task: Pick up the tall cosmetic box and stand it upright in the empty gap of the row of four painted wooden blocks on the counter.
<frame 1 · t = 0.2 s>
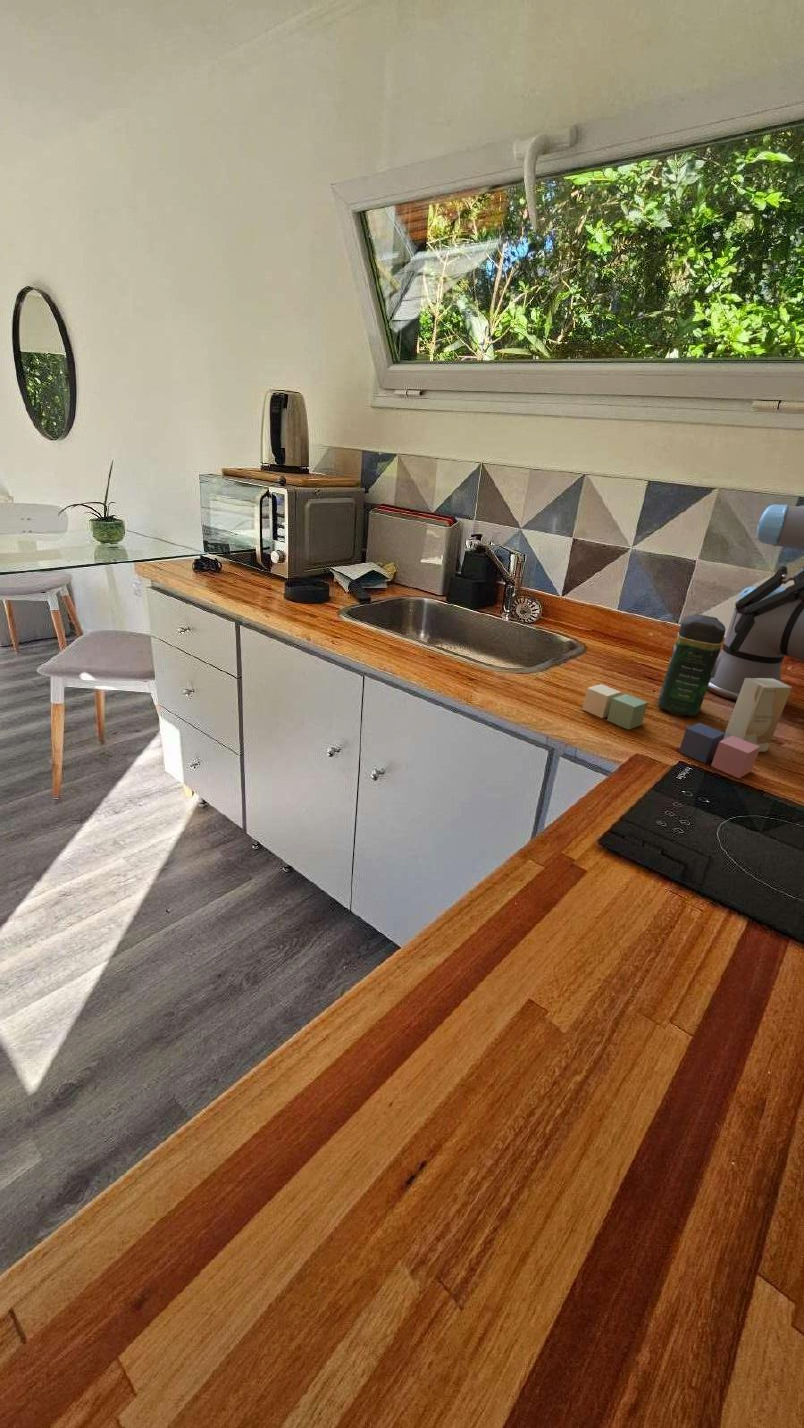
hand: (774, 663, 98), 15 cm above the worktop, tool tilted 35°, fingers open, 13 cm apart
block sage: (624, 722, 109), on the worktop
block slate: (698, 754, 100), on the worktop
cosmetic box: (744, 747, 104), on the worktop
block cream: (598, 711, 113), on the worktop
coffee jar: (677, 709, 118), on the worktop
block rose: (730, 768, 96), on the worktop
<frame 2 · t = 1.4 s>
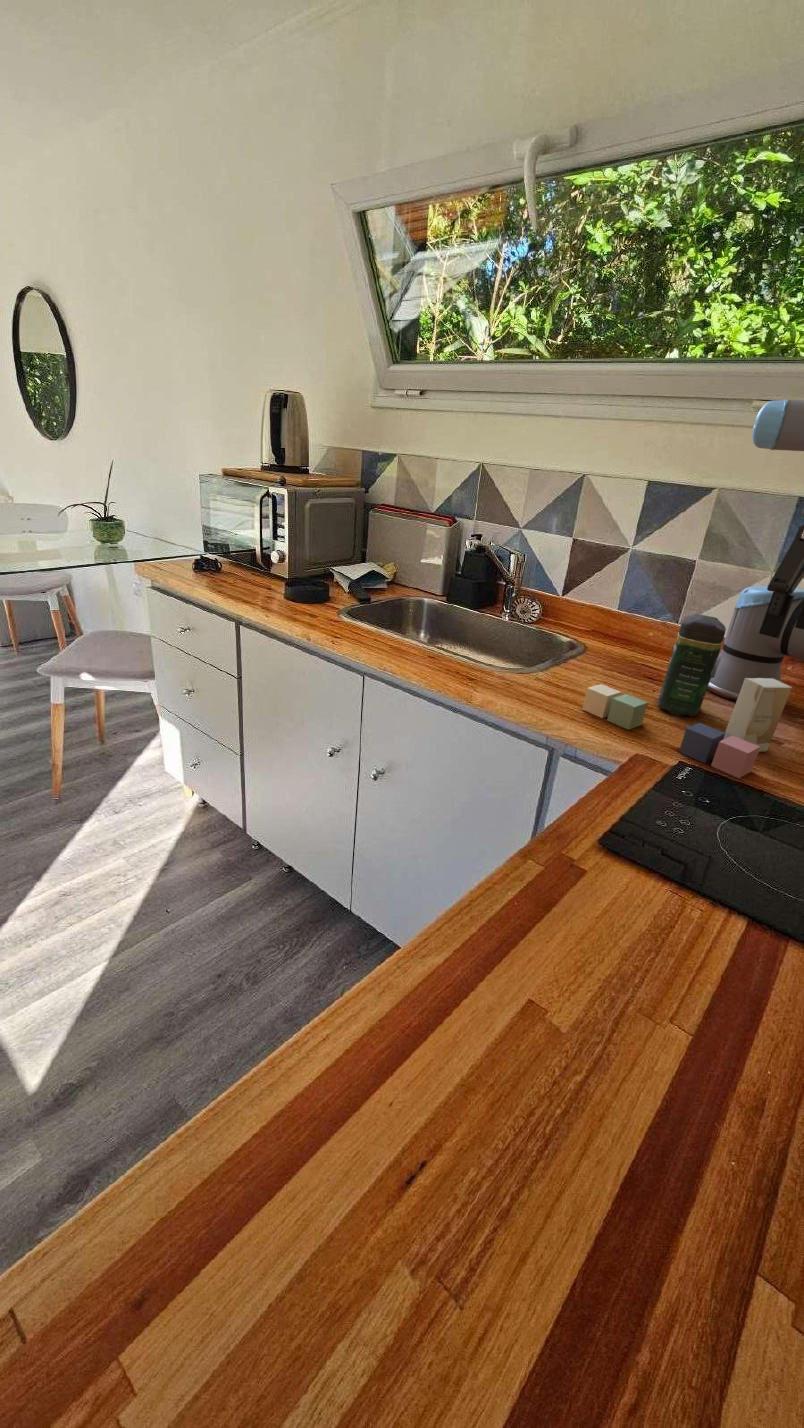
hand: (787, 632, 96), 21 cm above the worktop, tool pointing down, fingers open, 13 cm apart
nothing on the worktop moved.
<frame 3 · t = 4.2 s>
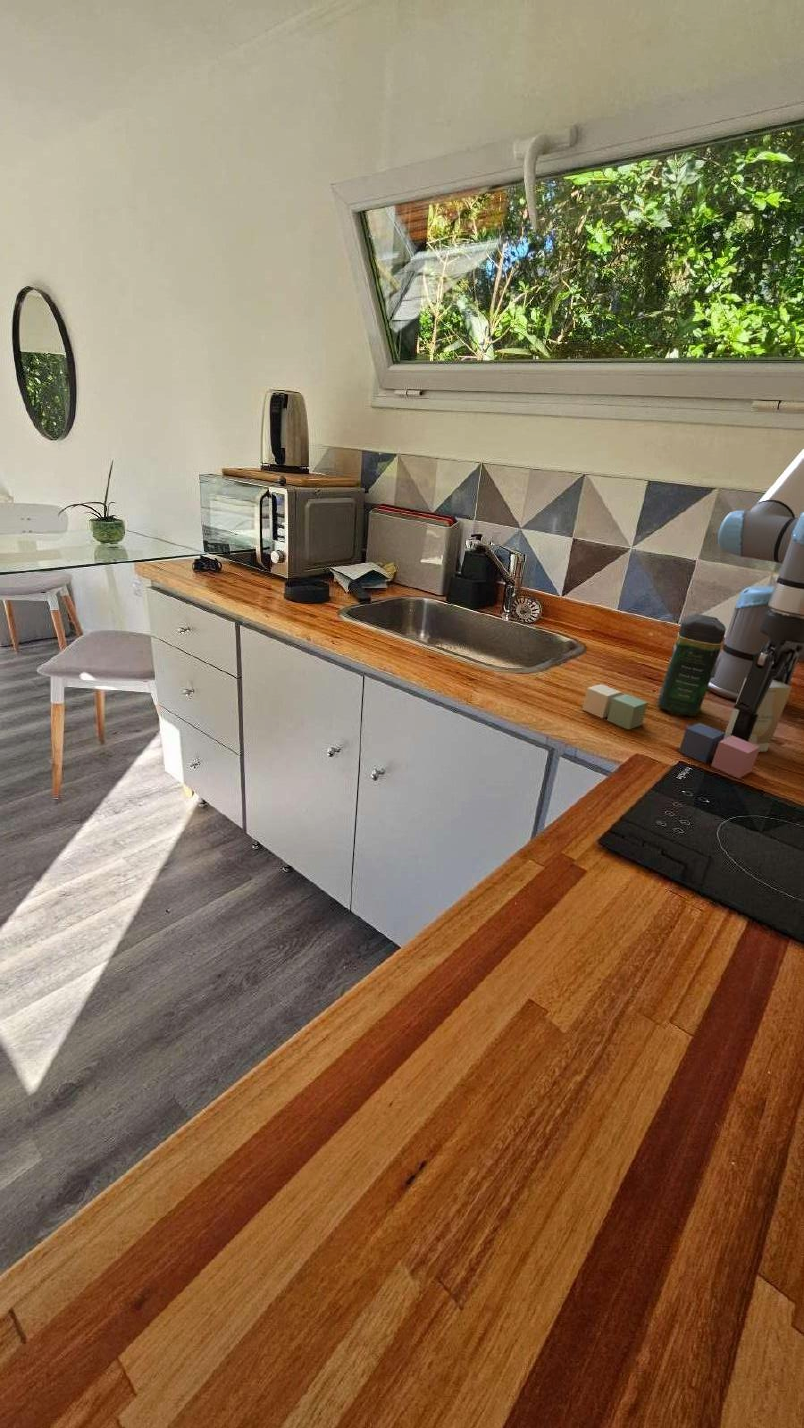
hand: (746, 741, 104), 1 cm above the worktop, tool pointing down, fingers closed on cosmetic box, 7 cm apart
cosmetic box: (744, 747, 104), on the worktop, touching gripper
everything else where it was.
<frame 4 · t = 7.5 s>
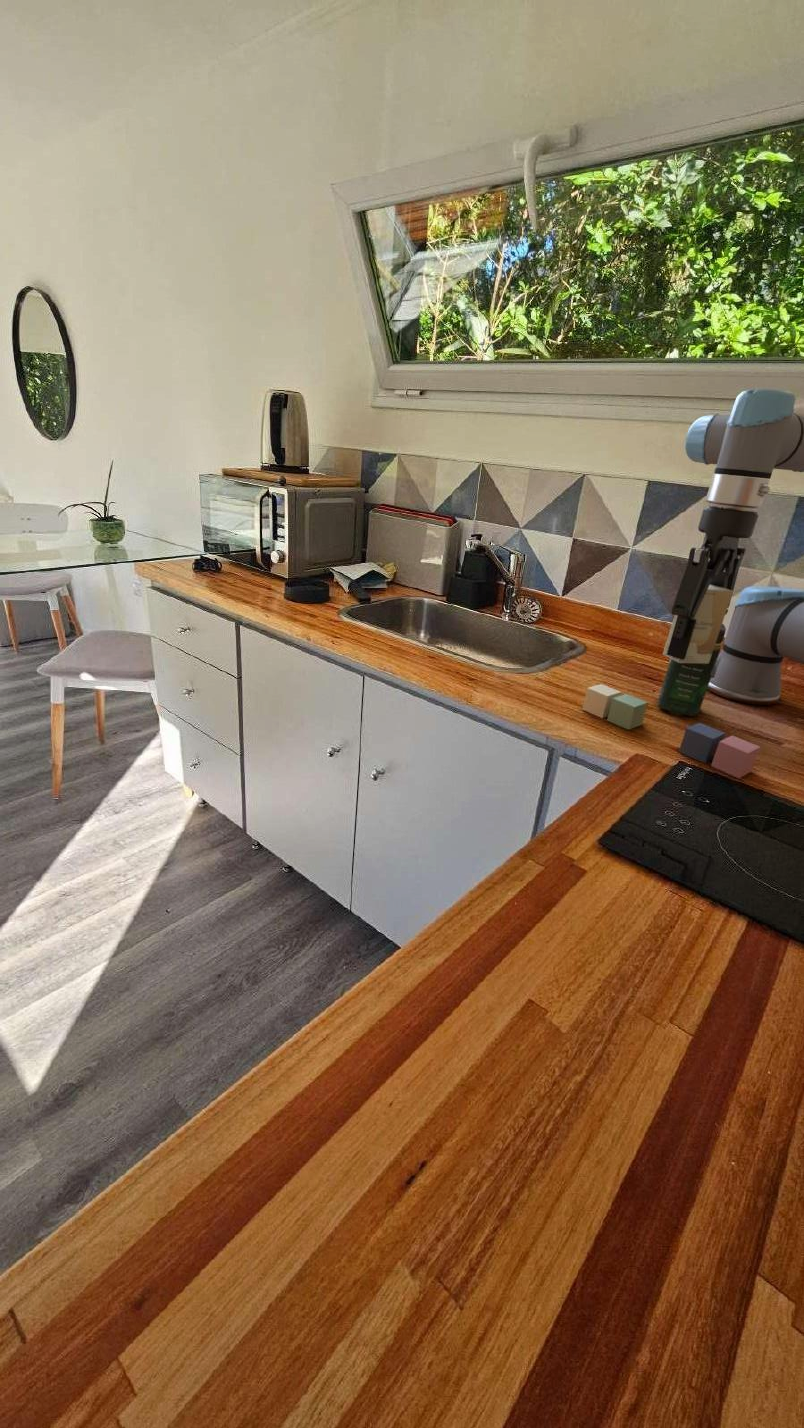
hand: (687, 653, 98), 16 cm above the worktop, tool pointing down, fingers closed on cosmetic box, 7 cm apart
cosmetic box: (685, 660, 98), point 14 cm above the worktop, touching gripper
everything else where it was.
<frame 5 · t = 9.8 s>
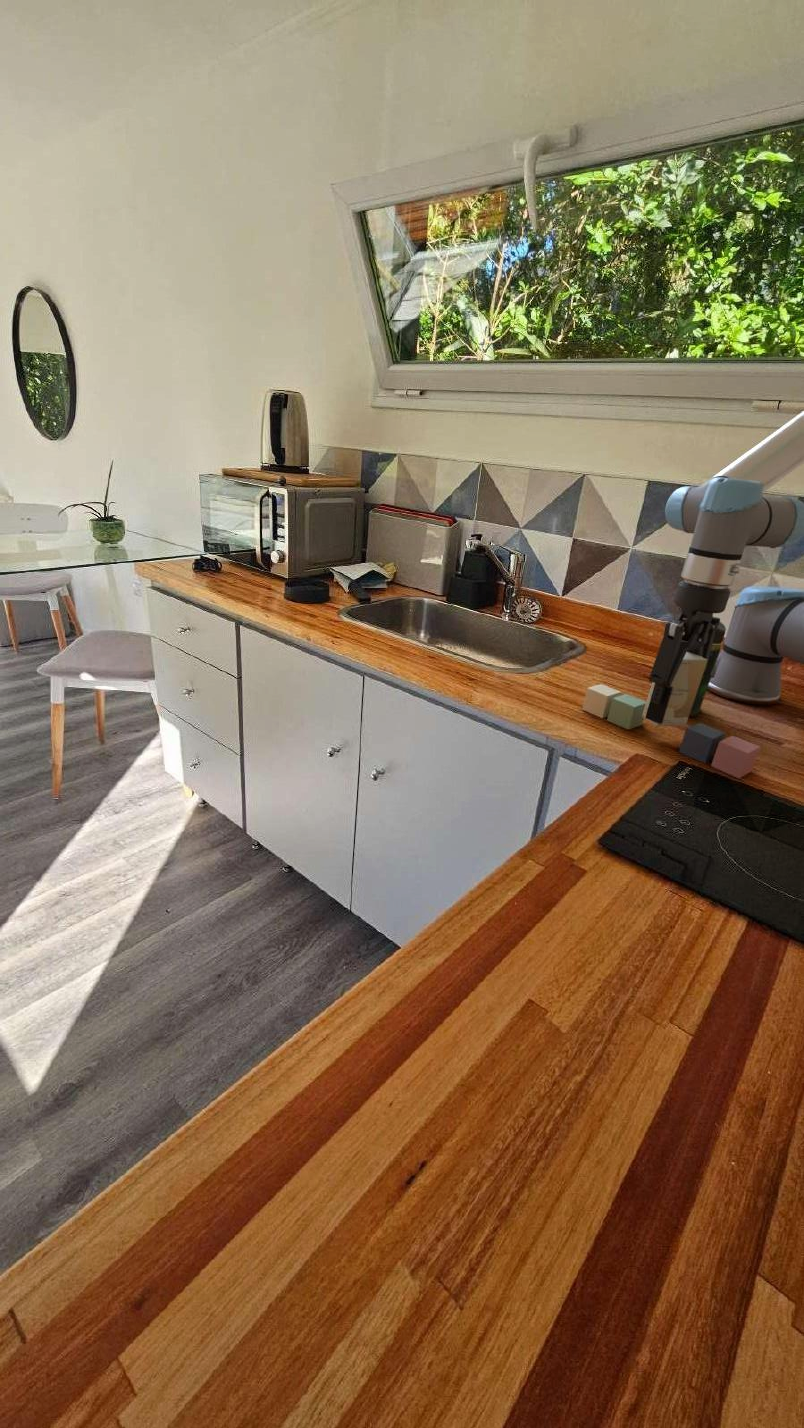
hand: (665, 715, 103), 4 cm above the worktop, tool pointing down, fingers closed on cosmetic box, 7 cm apart
cosmetic box: (663, 722, 103), point 3 cm above the worktop, touching gripper
everything else where it was.
when the fingers open (1 cm above the worktop, at t = 11.1 s): cosmetic box stays where it is, on the worktop.
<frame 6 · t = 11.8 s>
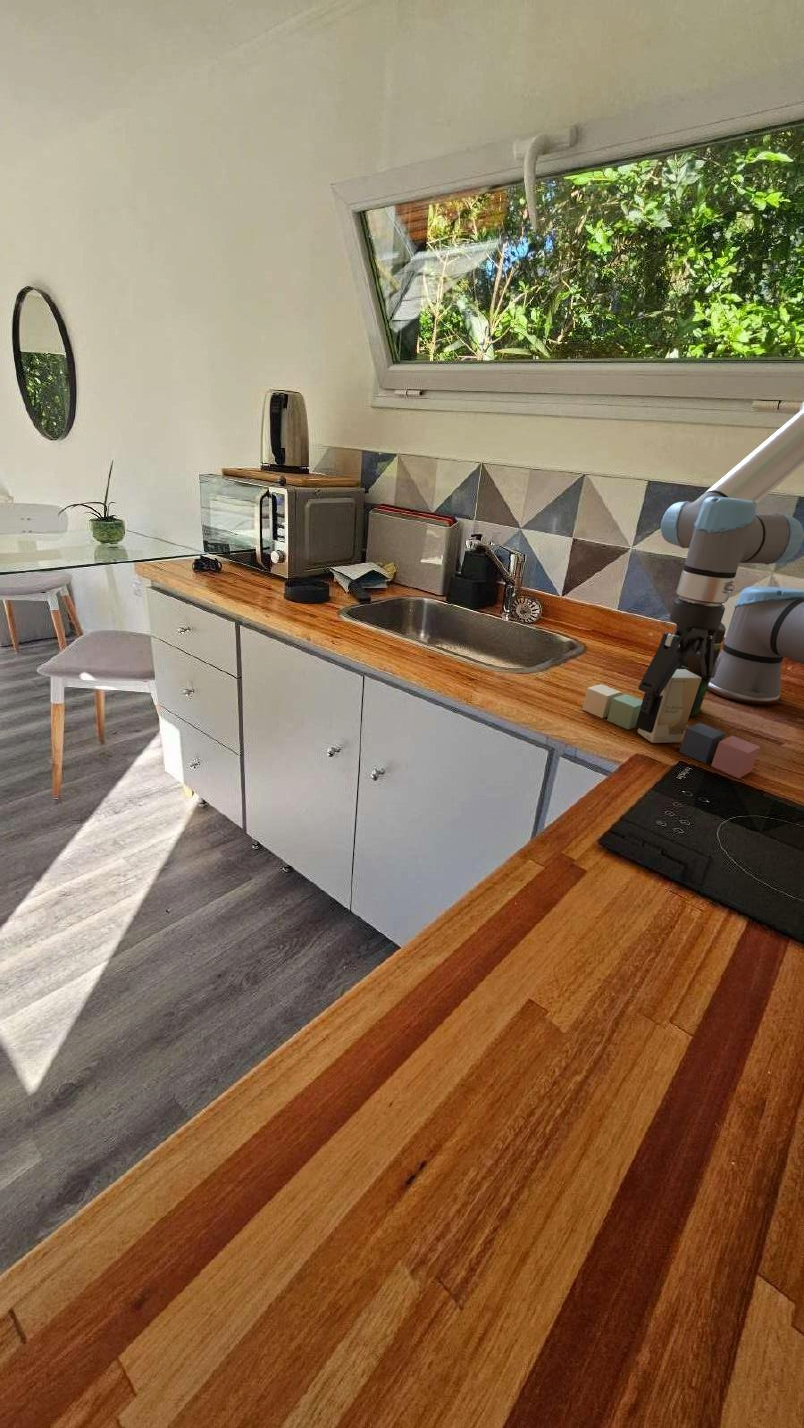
hand: (664, 721, 103), 3 cm above the worktop, tool pointing down, fingers open, 13 cm apart
cosmetic box: (659, 738, 105), on the worktop
everything else where it was.
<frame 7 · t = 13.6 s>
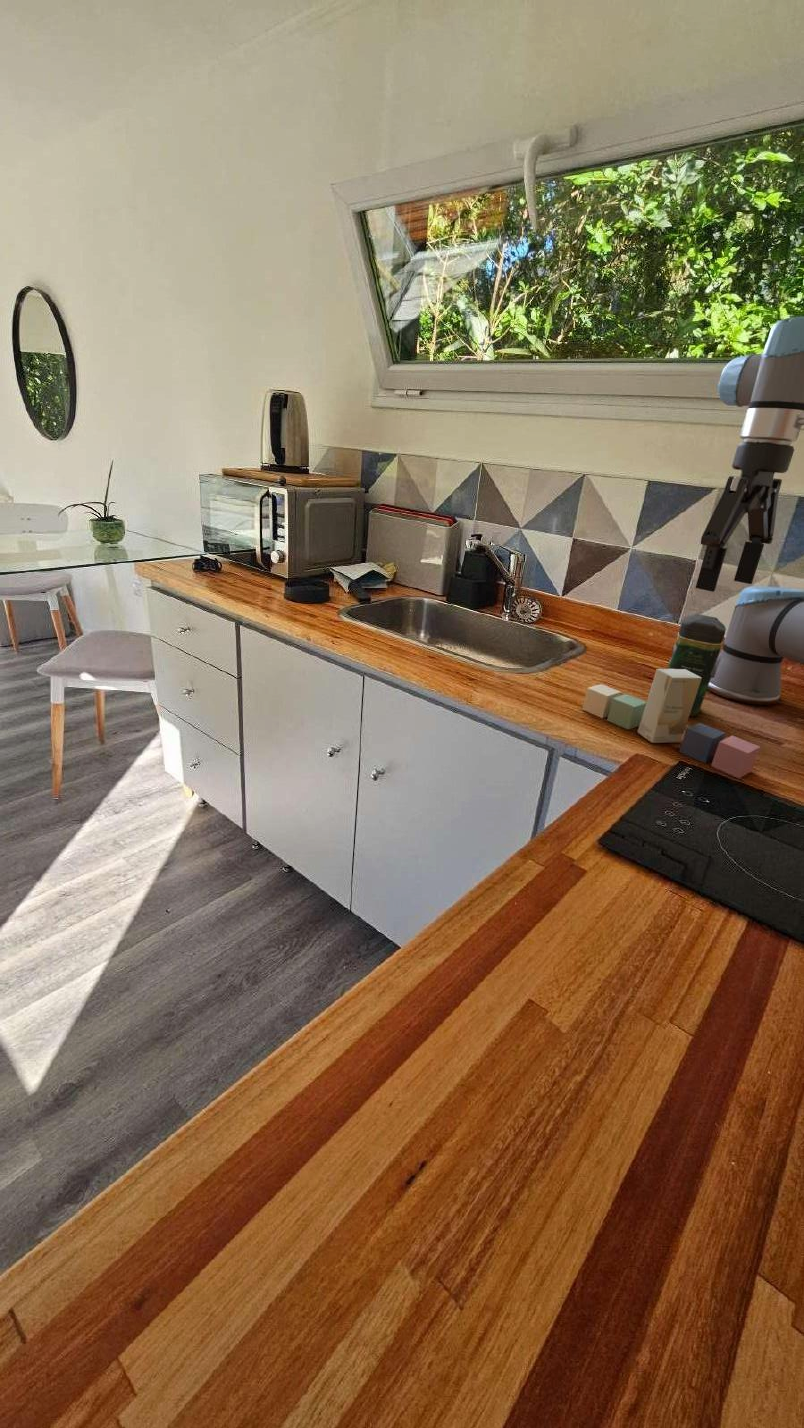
hand: (724, 586, 97), 26 cm above the worktop, tool pointing down, fingers open, 13 cm apart
nothing on the worktop moved.
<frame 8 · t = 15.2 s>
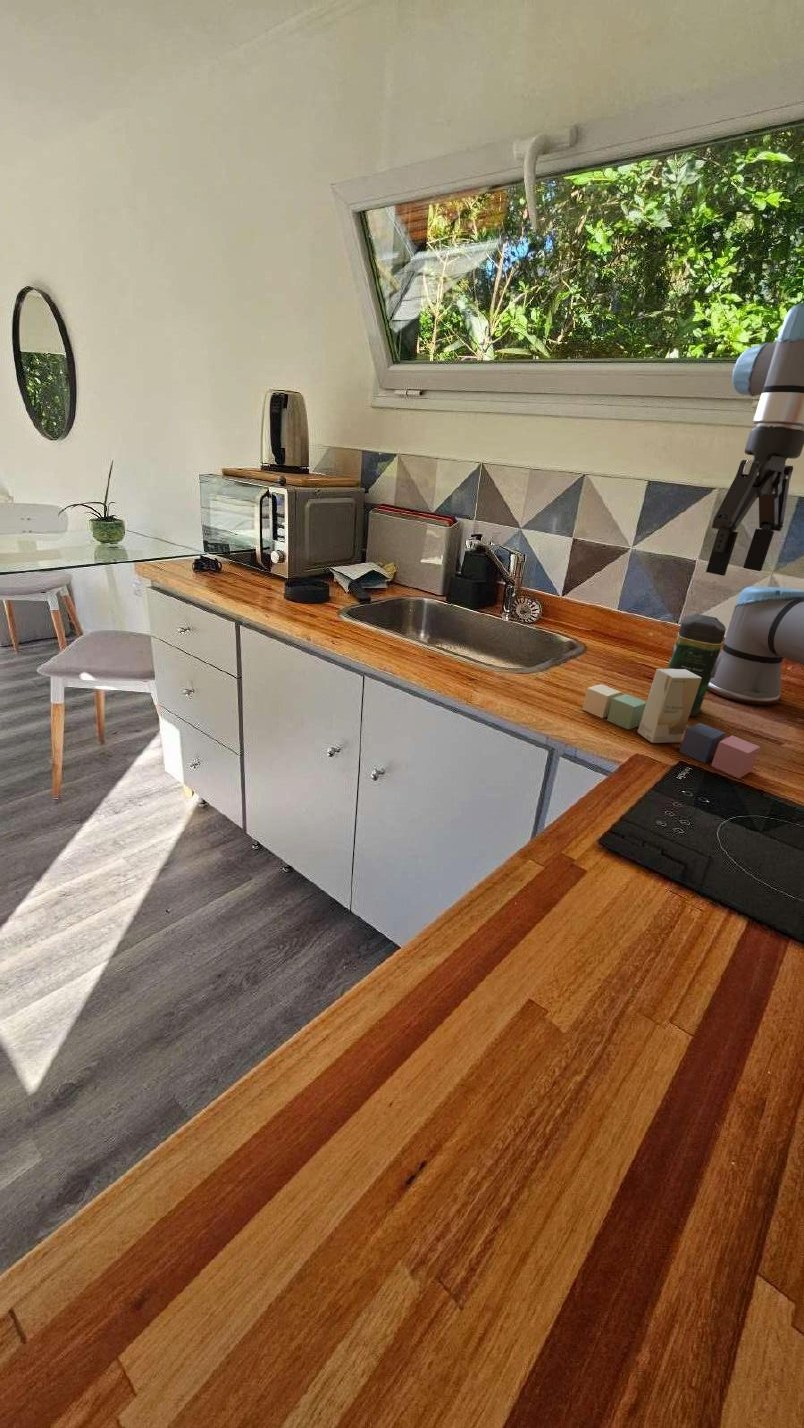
hand: (734, 571, 97), 29 cm above the worktop, tool pointing down, fingers open, 13 cm apart
nothing on the worktop moved.
at the end: cosmetic box 0.0 cm from the target spot, on the worktop; cosmetic box tilted 0°; block slate moved 0.0 cm from its start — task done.
